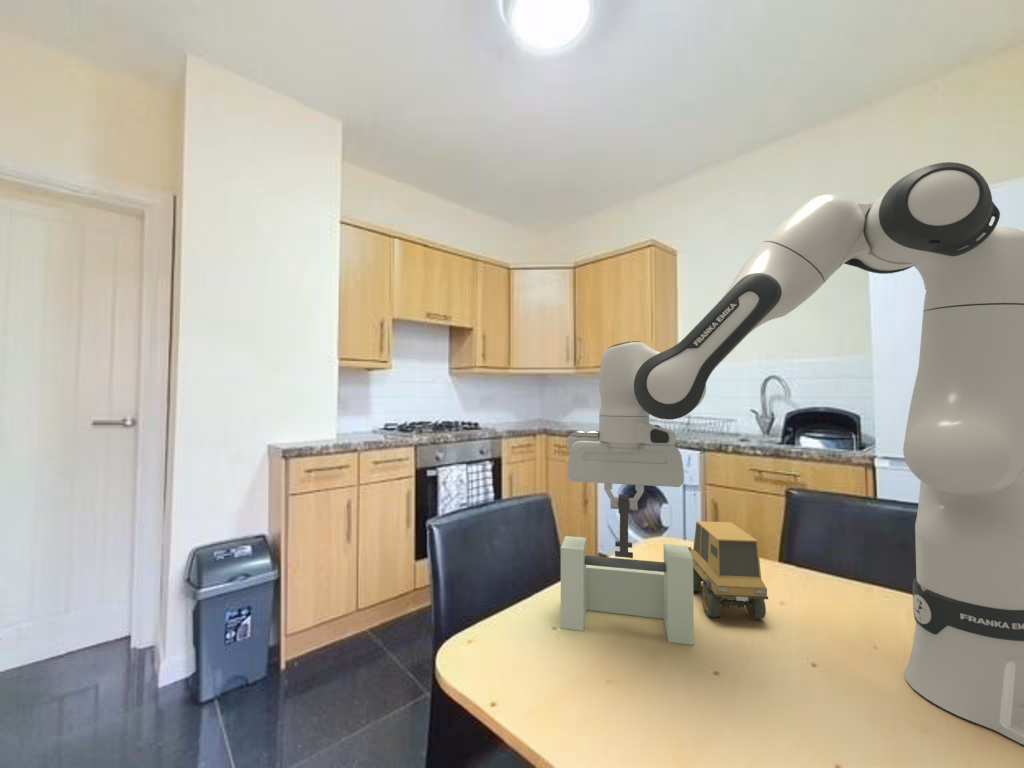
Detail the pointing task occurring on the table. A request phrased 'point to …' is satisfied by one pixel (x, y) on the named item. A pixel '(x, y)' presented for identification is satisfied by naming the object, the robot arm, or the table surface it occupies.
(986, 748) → the table surface
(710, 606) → the toy car
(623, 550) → the dark grey flanged post
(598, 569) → the lever switch frame
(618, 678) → the table surface
